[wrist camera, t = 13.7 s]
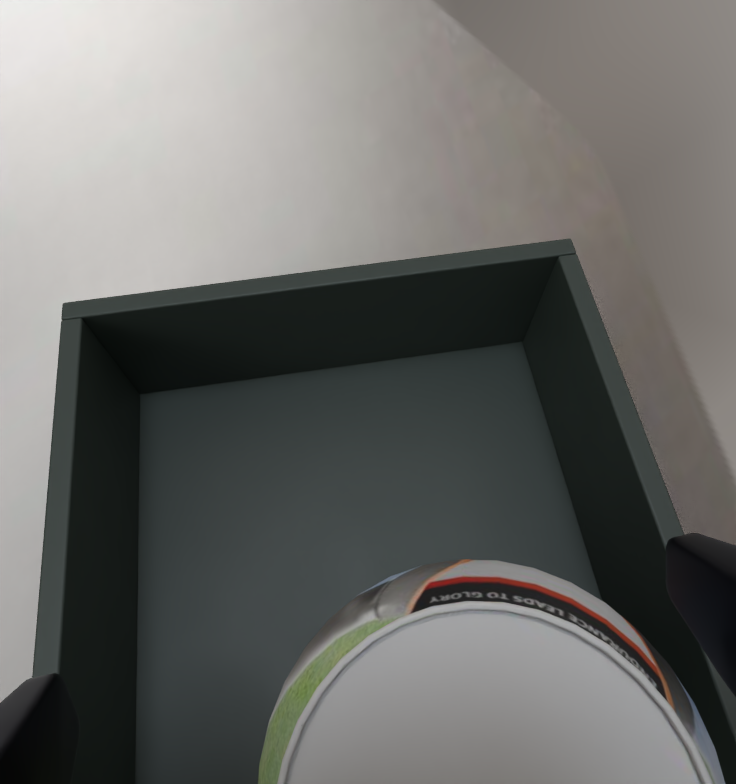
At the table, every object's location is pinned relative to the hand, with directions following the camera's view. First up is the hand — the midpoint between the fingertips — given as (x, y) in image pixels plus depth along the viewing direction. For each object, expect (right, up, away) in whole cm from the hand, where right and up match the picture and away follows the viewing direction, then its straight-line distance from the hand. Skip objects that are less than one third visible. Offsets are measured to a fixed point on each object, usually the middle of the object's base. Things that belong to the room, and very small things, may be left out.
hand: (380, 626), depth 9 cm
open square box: (0, -3, +11) cm, 11 cm away
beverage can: (+2, -6, +9) cm, 11 cm away
